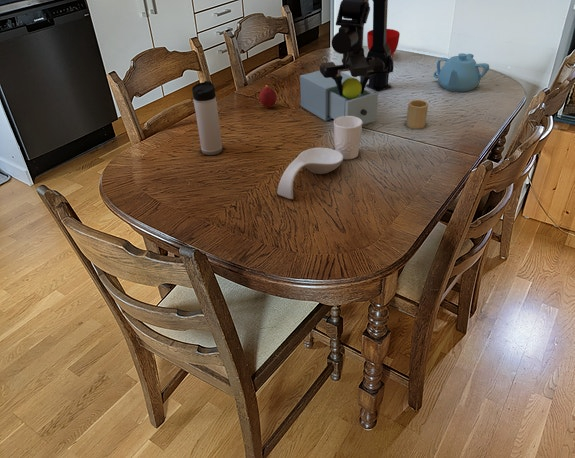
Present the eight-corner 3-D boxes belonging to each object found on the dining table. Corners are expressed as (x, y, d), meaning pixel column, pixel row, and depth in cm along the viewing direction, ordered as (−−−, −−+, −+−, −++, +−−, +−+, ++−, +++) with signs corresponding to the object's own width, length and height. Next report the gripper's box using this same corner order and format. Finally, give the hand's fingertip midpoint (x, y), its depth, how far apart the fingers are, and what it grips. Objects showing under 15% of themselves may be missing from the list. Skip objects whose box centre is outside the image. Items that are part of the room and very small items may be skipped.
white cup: (364, 150, 145) (366, 118, 139) (355, 162, 139) (357, 129, 133) (338, 145, 148) (339, 114, 141) (329, 157, 142) (329, 125, 136)
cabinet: (356, 111, 166) (358, 79, 160) (325, 121, 161) (325, 88, 155) (331, 97, 177) (331, 67, 170) (300, 106, 172) (300, 75, 165)
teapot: (492, 88, 177) (498, 57, 170) (449, 96, 173) (454, 64, 167) (467, 74, 189) (472, 44, 182) (426, 81, 185) (430, 51, 178)
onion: (277, 104, 174) (276, 82, 169) (276, 111, 169) (274, 88, 164) (261, 104, 174) (259, 82, 169) (259, 111, 170) (257, 88, 165)
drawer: (378, 121, 157) (380, 94, 152) (349, 131, 153) (350, 103, 147) (350, 106, 168) (351, 80, 162) (321, 114, 163) (321, 88, 158)
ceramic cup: (364, 66, 200) (366, 40, 194) (366, 52, 214) (367, 28, 208) (397, 66, 198) (400, 41, 192) (397, 53, 212) (399, 28, 206)
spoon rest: (314, 154, 144) (314, 131, 140) (350, 164, 138) (351, 141, 134) (266, 192, 128) (264, 168, 124) (305, 205, 123) (304, 180, 119)
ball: (352, 80, 158) (357, 70, 152) (362, 97, 157) (368, 88, 151) (335, 88, 157) (339, 79, 150) (345, 105, 156) (350, 97, 150)
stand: (416, 119, 160) (418, 98, 156) (429, 125, 156) (432, 104, 152) (402, 123, 158) (404, 102, 153) (415, 130, 153) (418, 109, 149)
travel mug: (226, 146, 150) (218, 81, 138) (217, 156, 145) (208, 90, 133) (208, 143, 152) (198, 79, 140) (198, 154, 147) (187, 88, 135)
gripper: (329, 55, 138) (329, 108, 147) (393, 48, 141) (388, 100, 150) (319, 43, 147) (319, 94, 156) (379, 37, 149) (376, 87, 159)
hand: (351, 94), depth 155 cm, fingers closed on ball, 6 cm apart
